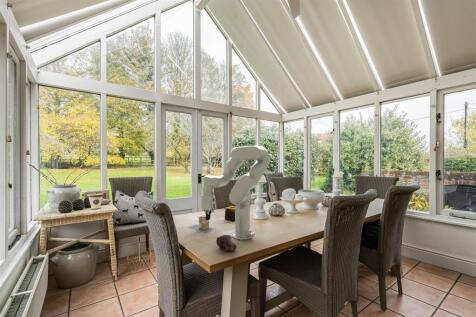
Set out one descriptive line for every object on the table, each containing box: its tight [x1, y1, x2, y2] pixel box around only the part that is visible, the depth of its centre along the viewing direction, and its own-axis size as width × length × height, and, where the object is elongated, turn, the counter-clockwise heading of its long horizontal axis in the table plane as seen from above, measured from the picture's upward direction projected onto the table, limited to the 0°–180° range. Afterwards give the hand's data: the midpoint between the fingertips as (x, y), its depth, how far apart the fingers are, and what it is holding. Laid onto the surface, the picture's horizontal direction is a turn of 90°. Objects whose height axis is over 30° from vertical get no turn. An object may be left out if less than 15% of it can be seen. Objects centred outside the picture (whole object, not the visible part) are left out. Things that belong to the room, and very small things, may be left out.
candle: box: [224, 205, 236, 222], centre depth 186 cm, size 10×10×10 cm
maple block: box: [198, 214, 210, 230], centre depth 158 cm, size 5×5×9 cm
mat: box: [186, 224, 216, 233], centre depth 160 cm, size 19×10×1 cm, turn 55°
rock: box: [215, 234, 238, 252], centre depth 123 cm, size 12×9×10 cm
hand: (208, 219), depth 156 cm, fingers closed
